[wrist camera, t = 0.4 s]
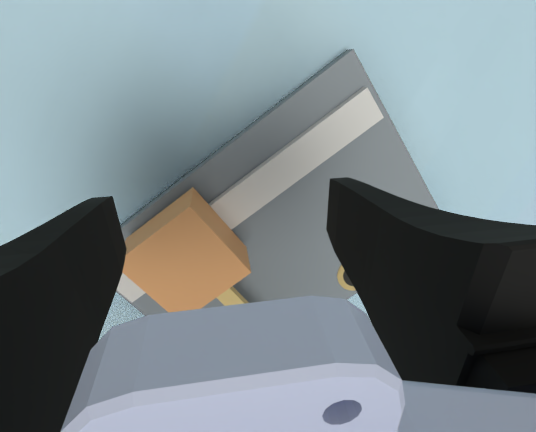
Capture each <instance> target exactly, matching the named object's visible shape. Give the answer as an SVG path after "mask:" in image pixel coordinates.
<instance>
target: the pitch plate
mask: <svg viewBox="0 0 536 432" xmlns="http://www.w3.org/2000/svg"><path fill="white" fill-rule="evenodd" d="M344 177H348V178H352V179H356V180H358V181H361V182H364V183H366V184H369V185H371V186H373V187H376V188H378V189H381V190H383V191H386V192H388V193H391V194H393V195H396V196H398V197H401V198H404V199H406V200H409V201H412V202H415V203H418V204H421V205H424V206H428V207H431V208H435V209H438V207H437V205H436V203H435V201H434V199H433V197H432V195H431V194H430V192H429V190H428V188H427V186H426V184H425V182H424V180H423V179H422V177H421V175H420V173H419V171H418V169H417V167H416V165H415V164H414V162H413V160H412V158H411V156H410V154H409V152H408V150H407V149H406V147H405V145H404V143H403V141H402V139H401V137H400V135H399V134H398V132H397V130H396V128H395V126H394V124H393V122H392V120H391V119H390V117H389V115H388V113H387V111H386V109H385V107H384V105H383V104H382V102H381V100H380V98H379V96H378V94H377V92H376V90H375V89H374V87H373V85H372V83H371V81H370V79H369V77H368V75H367V74H366V72H365V70H364V68H363V66H362V64H361V62H360V60H359V59H358V57H357V55H356V53H355V51H354V49H350V50H346V51H345V52H344V53H342V54H341V55H340V56H338V57H337V58H336V59H335V60H333V61H332V62H331V63H329V64H328V65H327V66H326V67H324V68H323V69H322V70H320V71H319V72H318V73H317V74H315V75H314V76H313V77H311V78H310V79H309V80H308V81H306V82H305V83H304V84H302V85H301V86H300V87H298V88H297V89H296V90H295V91H293V92H292V93H291V94H289V95H288V96H287V97H286V98H284V99H283V100H282V101H280V102H279V103H278V104H277V105H275V106H274V107H273V108H271V109H270V110H269V111H267V112H266V113H265V114H264V115H262V116H261V117H260V118H258V119H257V120H256V121H255V122H253V123H252V124H251V125H249V126H248V127H247V128H246V129H244V130H243V131H242V132H240V133H239V134H238V135H237V136H235V137H234V138H233V139H231V140H230V141H229V142H227V143H226V144H225V145H224V146H222V147H221V148H220V149H218V150H217V151H216V152H215V153H213V154H212V155H211V156H209V157H208V158H207V159H206V160H204V161H203V162H202V163H200V164H199V165H198V166H197V167H195V168H194V169H193V170H191V171H190V172H189V173H187V174H186V175H185V176H184V177H182V178H181V179H180V180H178V181H177V182H176V183H175V184H173V185H172V186H171V187H169V188H168V189H167V190H166V191H164V192H163V193H162V194H160V195H159V196H158V197H156V198H155V199H154V200H153V201H151V202H150V203H149V204H147V205H146V206H145V207H144V208H142V209H141V210H140V211H138V212H137V213H136V214H135V215H133V216H132V217H131V218H129V219H128V220H127V221H126V222H124V223H123V224H122V225H120V226H121V230H122V234H123V237H124V241H125V240H126V238H127V237H129V236H130V235H131V234H132V233H134V232H135V231H136V230H138V229H139V228H140V227H142V226H143V225H144V224H146V223H147V222H148V221H149V220H151V219H152V218H153V217H155V216H156V215H157V214H159V213H160V212H161V211H162V210H164V209H165V208H166V207H168V206H169V205H170V204H172V203H173V202H174V201H176V200H177V199H178V198H179V197H181V196H182V195H183V194H185V193H186V192H187V191H189V190H190V189H191V188H192V187H193V188H194V189H195V190H196V191H197V192H198V193H199V194H200V195H201V196H202V198H203V199H204V200H205V201H206V202H207V203H208V204H209V205H210V207H211V208H212V209H213V210H214V211H215V212H216V213H217V214H218V216H219V217H220V218H221V219H222V220H223V221H224V222H225V223H226V225H227V226H228V227H229V228H230V229H231V230H232V231H233V232H234V234H235V235H236V236H237V237H238V238H239V239H240V240H241V241H242V242H243V244H244V245H245V246H246V247H247V253H248V258H249V263H250V268H251V273H250V274H249V275H247V276H246V277H245V278H243V279H242V280H240V281H239V282H237V283H236V284H235V285H233V287H234V288H235V289H236V290H237V291H238V292H239V293H240V294H241V295H242V296H243V297H244V298H245V299H246V300H247V301H248V302H249V303H253V302H261V301H270V300H278V299H286V298H295V297H303V296H322V297H333V298H344V299H346V300H347V299H348V298H350V297H351V296H353V295H354V294H356V293H357V291H356V290H355V288H354V286H353V284H352V283H351V281H350V279H349V277H348V275H347V274H346V272H345V270H344V268H343V267H342V265H341V263H340V261H339V259H338V257H337V256H336V254H335V252H334V249H333V247H332V244H331V242H330V239H329V236H328V233H327V230H326V226H327V212H328V197H329V182H330V179H331V178H344ZM116 292H117V293H118V294H120V295H121V296H122V297H123V298H124V299H126V300H127V301H128V302H129V303H130V304H132V305H133V306H134V307H135V308H136V309H138V310H139V311H140V312H141V313H142V314H144V315H145V316H147V315H153V314H161V313H168V312H167V311H166V310H165V309H164V308H163V307H161V306H160V305H159V304H158V303H157V302H156V301H155V300H153V299H152V298H151V297H150V296H149V295H148V294H147V293H145V292H144V291H143V290H142V289H141V288H140V287H139V286H137V285H136V284H135V283H134V282H133V281H132V280H130V279H129V278H128V277H127V276H126V275H125V274H124V273H122V276H121V278H120V281H119V284H118V287H117V290H116ZM219 306H224V305H223V304H222V303H221V302H220V301H219V300H218V299H217V298H215V299H214V300H212V301H211V302H209V303H208V304H207V305H205V306H204V307H202V308H201V309H203V308H211V307H219Z"/></svg>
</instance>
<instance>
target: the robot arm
mask: <svg viewBox="0 0 536 432" xmlns="http://www.w3.org/2000/svg"><path fill="white" fill-rule="evenodd" d="M326 230H327V233H328V236H329V239H330V242H331V244H332V247H333V249H334V252H335V254H336V256H337V257H338V259H339V261H340V263H341V265H342V267H343V268H344V270H345V272H346V274H347V275H348V277H349V279H350V281H351V283H352V284H353V286H354V288H355V290H356V291H357V293H358V295H359V297H360V299H361V301H362V303H363V305H364V307H365V309H366V311H367V313H368V316H369V318H370V319H369V318H368V316H367V314H366V313H364V312H363V311H362V310H360V309H359V308H357V307H356V306H355V305H353V304H352V303H351V302H349V301H348V300H346V299H344V298H333V297H322V296H303V297H295V298H286V299H278V300H270V301H261V302H253V303H244V304H236V305H228V306H219V307H211V308H203V309H194V310H186V311H178V312H169V313H161V314H153V315H147V316H144V317H141V318H138V319H135V320H132V321H129V322H126V323H123V324H120V325H117V326H114V327H112V328H111V329H110V330H109V331H108V332H107V333H106V334H105V335H104V336H103V337H102V338H101V339H100V340H99V336H100V333H101V330H102V327H103V325H104V322H105V319H106V317H107V314H108V311H109V309H110V306H111V303H112V301H113V298H114V295H115V292H116V290H117V287H118V284H119V281H120V278H121V276H122V272H123V267H124V262H125V256H126V250H127V248H126V245H125V241H124V237H123V234H122V230H121V226H120V223H119V219H118V215H117V212H116V208H115V204H114V200H113V197H112V196H110V197H98V198H91V199H88V200H86V201H84V202H82V203H80V204H78V205H76V206H74V207H72V208H71V209H69V210H67V211H65V212H64V213H62V214H60V215H58V216H57V217H55V218H53V219H51V220H50V221H48V222H46V223H44V224H43V225H41V226H39V227H37V228H35V229H33V230H31V231H29V232H27V233H26V234H24V235H22V236H20V237H18V238H16V239H14V240H12V241H10V242H8V243H6V244H4V245H2V246H0V432H536V225H525V224H516V223H507V222H499V221H492V220H485V219H480V218H475V217H469V216H464V215H459V214H454V213H450V212H446V211H442V210H439V209H435V208H431V207H428V206H424V205H421V204H418V203H415V202H412V201H409V200H406V199H404V198H401V197H398V196H396V195H393V194H391V193H388V192H386V191H383V190H381V189H378V188H376V187H373V186H371V185H369V184H366V183H364V182H361V181H358V180H356V179H352V178H348V177H344V178H331V179H330V182H329V197H328V212H327V226H326ZM370 320H371V321H370ZM98 340H99V341H98Z"/></svg>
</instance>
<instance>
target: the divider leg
mask: <svg viewBox="0 0 536 432" xmlns="http://www.w3.org/2000/svg"><path fill="white" fill-rule="evenodd" d="M125 245H126V248H127V250H126V256H125V262H124V267H123V272H122V273H124V274H125V275H126V276H127V277H128V278H129V279H130V280H132V281H133V282H134V283H135V284H136V285H137V286H139V287H140V288H141V289H142V290H143V291H144V292H145V293H147V294H148V295H149V296H150V297H151V298H152V299H153V300H155V301H156V302H157V303H158V304H159V305H160V306H161V307H163V308H164V309H165V310H166V311H167V312H168V313H169V312H178V311H186V310H194V309H201V308H202V307H204V306H205V305H207V304H208V303H209V302H211V301H212V300H214V299H215V298H217V299H218V300H219V301H220V302H221V303H222V304H223V305H224V306H228V305H236V304H244V303H249V302H248V301H247V300H246V299H245V298H244V297H243V296H242V295H241V294H240V293H239V292H238V291H237V290H236V289H235V288H234V287H233V285H235V284H236V283H237V282H239V281H240V280H242V279H243V278H245V277H246V276H247V275H249V274H250V273H251V268H250V263H249V258H248V253H247V247H246V246H245V245H244V244H243V242H242V241H241V240H240V239H239V238H238V237H237V236H236V235H235V234H234V232H233V231H232V230H231V229H230V228H229V227H228V226H227V225H226V223H225V222H224V221H223V220H222V219H221V218H220V217H219V216H218V214H217V213H216V212H215V211H214V210H213V209H212V208H211V207H210V205H209V204H208V203H207V202H206V201H205V200H204V199H203V198H202V196H201V195H200V194H199V193H198V192H197V191H196V190H195V189H194V188H193V187H192V188H191V189H190V190H189V191H187V192H186V193H185V194H183V195H182V196H181V197H179V198H178V199H177V200H176V201H174V202H173V203H172V204H170V205H169V206H168V207H166V208H165V209H164V210H162V211H161V212H160V213H159V214H157V215H156V216H155V217H153V218H152V219H151V220H149V221H148V222H147V223H146V224H144V225H143V226H142V227H140V228H139V229H138V230H136V231H135V232H134V233H132V234H131V235H130V236H129V237H127V238H126V240H125Z"/></svg>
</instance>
